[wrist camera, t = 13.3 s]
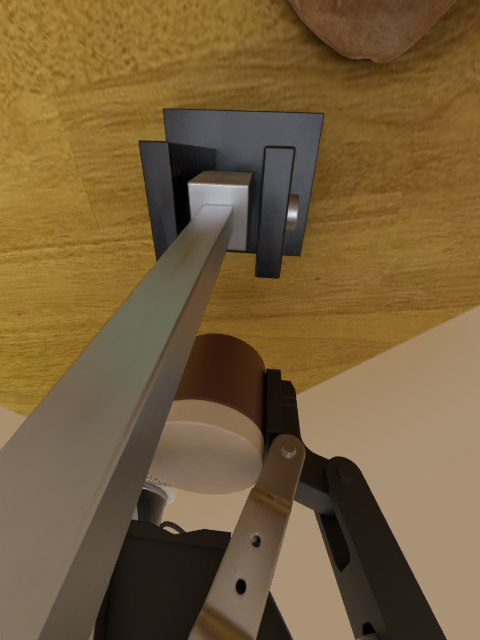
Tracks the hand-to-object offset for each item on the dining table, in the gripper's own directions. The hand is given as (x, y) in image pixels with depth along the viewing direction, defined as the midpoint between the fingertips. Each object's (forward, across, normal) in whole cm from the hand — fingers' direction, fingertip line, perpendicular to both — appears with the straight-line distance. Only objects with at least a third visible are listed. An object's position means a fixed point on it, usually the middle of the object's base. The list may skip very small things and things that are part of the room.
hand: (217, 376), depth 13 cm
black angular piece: (+10, 0, -8) cm, 13 cm away
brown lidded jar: (0, 0, 0) cm, 0 cm away
